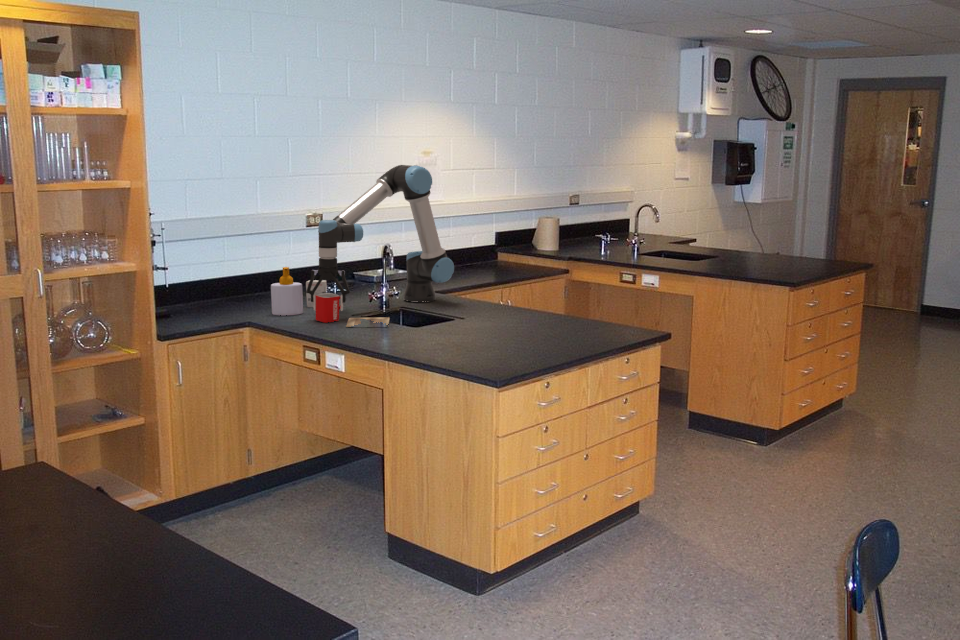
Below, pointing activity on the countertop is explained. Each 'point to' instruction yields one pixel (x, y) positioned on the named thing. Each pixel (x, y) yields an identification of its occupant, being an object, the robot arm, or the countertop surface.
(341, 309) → the robot arm
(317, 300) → the mug
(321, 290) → the ink box
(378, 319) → the coaster board
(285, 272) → the soap bottle
